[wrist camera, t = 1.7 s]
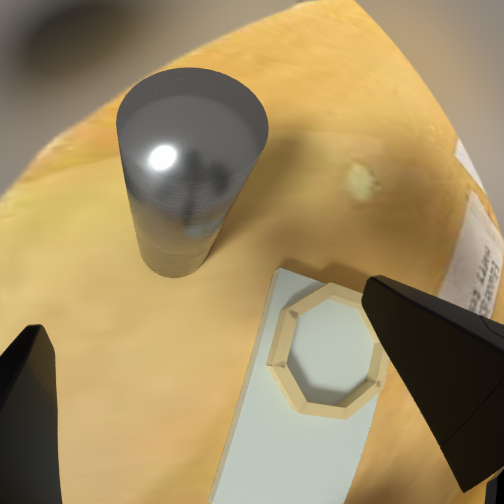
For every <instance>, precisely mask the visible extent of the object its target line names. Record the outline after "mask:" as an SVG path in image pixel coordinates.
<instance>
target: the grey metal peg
mask: <svg viewBox="0 0 504 504" xmlns="http://www.w3.org/2000/svg"><path fill="white" fill-rule="evenodd" d="M116 126H117V135H118V142H119V149H120V155H121V161H122V167H123V173H124V178H125V184H126V189H127V194H128V199H129V204H130V209H131V214H132V218H133V223H134V227H135V232H136V236H137V240H138V244H139V248H140V252H141V256H142V258H143V260H144V262H145V263H146V265H147V266H148V267H149V268H150V269H151V270H152V271H154V272H155V273H157V274H159V275H161V276H164V277H169V278H180V277H184V276H187V275H189V274H191V273H193V272H194V271H196V270H197V269H198V268H199V267H200V266H201V265H202V263H203V262H204V260H205V258H206V256H207V254H208V252H209V250H210V248H211V246H212V244H213V242H214V240H215V238H216V237H217V235H218V233H219V231H220V229H221V227H222V225H223V223H224V221H225V219H226V217H227V215H228V213H229V212H230V210H231V208H232V206H233V204H234V202H235V200H236V198H237V196H238V195H239V193H240V191H241V189H242V187H243V185H244V183H245V181H246V180H247V178H248V176H249V174H250V172H251V170H252V169H253V167H254V165H255V163H256V161H257V159H258V158H259V156H260V154H261V152H262V150H263V148H264V146H265V144H266V141H267V137H268V128H269V127H268V119H267V116H266V112H265V110H264V108H263V106H262V104H261V103H260V101H259V100H258V98H257V97H256V96H255V95H254V94H253V93H252V92H251V91H250V90H249V89H248V88H247V87H246V86H244V85H243V84H242V83H240V82H239V81H237V80H235V79H233V78H231V77H229V76H227V75H225V74H222V73H220V72H216V71H213V70H208V69H202V68H176V69H170V70H166V71H162V72H159V73H156V74H154V75H151V76H149V77H148V78H146V79H144V80H142V81H141V82H139V83H138V84H137V85H136V86H134V87H133V88H132V89H131V90H130V91H129V92H128V94H127V95H126V96H125V98H124V99H123V101H122V103H121V105H120V107H119V110H118V113H117V120H116Z"/></svg>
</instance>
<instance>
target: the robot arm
mask: <svg viewBox="0 0 504 504" xmlns="http://www.w3.org/2000/svg"><path fill="white" fill-rule="evenodd" d="M361 304H362V307H363V309H364V311H365V313H366V315H367V317H368V319H369V321H370V323H371V325H372V327H373V329H374V331H375V333H376V335H377V337H378V339H379V341H380V343H381V345H382V347H383V348H384V350H385V352H386V354H387V355H388V357H389V358H390V360H391V362H392V363H393V365H394V367H395V368H396V370H397V372H398V373H399V375H400V377H401V378H402V380H403V382H404V384H405V385H406V387H407V389H408V390H409V392H410V394H411V396H412V397H413V399H414V401H415V403H416V404H417V406H418V408H419V410H420V411H421V413H422V415H423V417H424V419H425V420H426V422H427V424H428V426H429V428H430V430H431V431H432V433H433V435H434V437H435V439H436V441H437V443H438V444H439V446H440V449H441V451H442V453H443V454H444V456H445V458H446V460H447V462H448V464H449V466H450V468H451V470H452V472H453V474H454V476H455V478H456V480H457V482H458V484H459V486H460V488H461V490H462V492H463V493H465V492H467V491H468V490H470V489H471V488H473V487H475V486H476V485H478V484H479V483H481V482H482V481H484V480H485V479H487V478H488V477H489V476H491V475H492V474H494V473H495V472H497V471H498V472H497V473H496V474H495V475H494V476H493V477H492V478H491V479H490V480H489V481H488V482H487V486H486V496H485V504H504V325H503V324H500V323H498V322H495V321H493V320H490V319H488V318H485V317H483V316H481V315H478V314H476V313H474V312H471V311H469V310H466V309H464V308H462V307H459V306H457V305H454V304H452V303H449V302H447V301H445V300H442V299H440V298H437V297H435V296H432V295H430V294H427V293H425V292H422V291H420V290H418V289H415V288H413V287H410V286H408V285H405V284H403V283H400V282H398V281H395V280H392V279H390V278H387V277H385V276H382V275H377V276H372V277H369V278H368V280H367V282H366V285H365V288H364V292H363V295H362V298H361ZM0 504H62V496H61V487H60V476H59V461H58V408H57V391H56V367H55V351H54V348H53V345H52V343H51V341H50V339H49V337H48V335H47V332H46V330H45V328H44V327H43V325H41V324H34V325H28V326H26V327H25V329H24V330H23V331H22V332H21V333H20V334H19V335H18V336H17V337H16V338H15V340H14V341H13V342H12V343H11V344H10V345H9V346H8V348H7V349H6V350H5V351H4V352H3V353H2V355H1V356H0Z"/></svg>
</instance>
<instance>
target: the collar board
mask: <svg viewBox="0 0 504 504" xmlns="http://www.w3.org/2000/svg"><path fill="white" fill-rule="evenodd" d="M362 295H363V293H360V292H357V291H354V290H352V289H349V288H346V287H343V286H340V285H338V284H335V283H332V282H330V283H327V284H325V283H322V282H319V281H317V280H314V279H311V278H308V277H305V276H303V275H300V274H297V273H294V272H291V271H289V270H286V269H283V268H279V269H277V270H276V271H274V273H273V277H272V281H271V285H270V288H269V292H268V296H267V300H266V304H265V307H264V311H263V315H262V318H261V322H260V326H259V329H258V333H257V337H256V340H255V344H254V348H253V351H252V355H251V358H250V362H249V365H248V369H247V373H246V376H245V380H244V383H243V387H242V390H241V393H240V397H239V400H238V404H237V407H236V411H235V414H234V417H233V421H232V424H231V428H230V431H229V434H228V438H227V441H226V444H225V447H224V451H223V454H222V457H221V461H220V464H219V467H218V470H217V473H216V477H215V480H214V483H213V486H212V489H211V492H210V496H209V499H208V501H209V504H344V501H345V499H346V496H347V494H348V491H349V489H350V486H351V483H352V481H353V478H354V475H355V472H356V470H357V467H358V464H359V461H360V458H361V455H362V452H363V449H364V445H365V442H366V439H367V436H368V432H369V429H370V425H371V422H372V418H373V415H374V411H375V407H376V403H377V399H378V395H379V392H380V391H381V390H382V389H383V388H384V384H385V379H386V375H387V370H388V365H389V360H390V358H389V357H388V355H387V354H386V352H385V350H384V348H383V347H382V345H381V343H380V341H379V339H378V337H377V335H376V333H375V331H374V329H373V327H372V325H371V323H370V321H369V319H368V317H367V315H366V313H365V311H364V309H363V307H362V304H361V298H362Z"/></svg>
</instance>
